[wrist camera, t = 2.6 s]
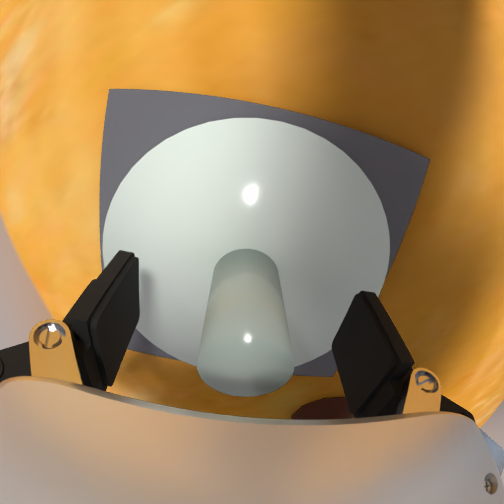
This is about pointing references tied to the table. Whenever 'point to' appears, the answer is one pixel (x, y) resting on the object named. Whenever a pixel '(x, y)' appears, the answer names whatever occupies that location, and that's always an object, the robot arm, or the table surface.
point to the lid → (247, 247)
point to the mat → (217, 108)
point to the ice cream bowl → (324, 410)
